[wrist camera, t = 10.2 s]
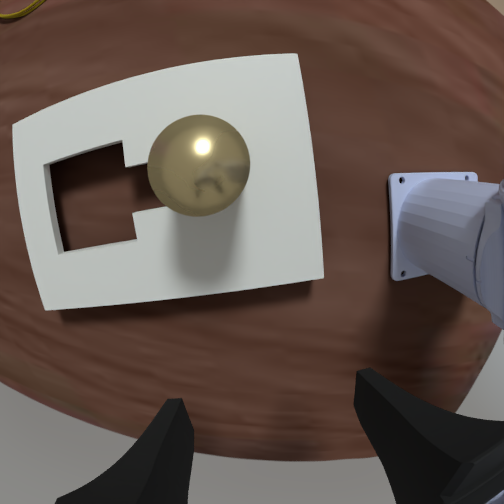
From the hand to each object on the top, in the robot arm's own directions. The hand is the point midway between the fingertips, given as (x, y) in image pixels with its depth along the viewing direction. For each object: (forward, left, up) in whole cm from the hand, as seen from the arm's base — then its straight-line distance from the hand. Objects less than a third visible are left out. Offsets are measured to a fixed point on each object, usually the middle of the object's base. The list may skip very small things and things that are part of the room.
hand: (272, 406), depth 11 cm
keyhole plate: (+6, -9, -10) cm, 15 cm away
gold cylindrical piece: (+2, -10, -10) cm, 14 cm away
